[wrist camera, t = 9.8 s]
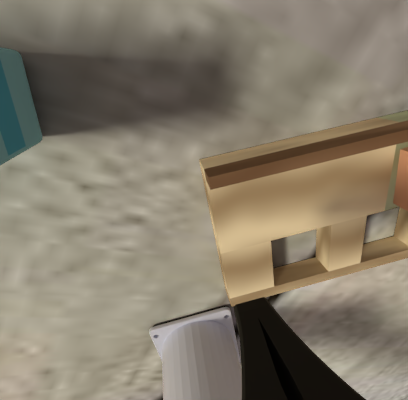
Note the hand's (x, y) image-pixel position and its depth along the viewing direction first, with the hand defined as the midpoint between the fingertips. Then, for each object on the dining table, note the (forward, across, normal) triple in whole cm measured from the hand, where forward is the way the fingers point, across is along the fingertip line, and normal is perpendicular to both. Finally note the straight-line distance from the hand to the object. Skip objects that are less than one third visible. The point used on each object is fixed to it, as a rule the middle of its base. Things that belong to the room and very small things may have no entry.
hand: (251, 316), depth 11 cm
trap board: (+10, -10, +2) cm, 14 cm away
